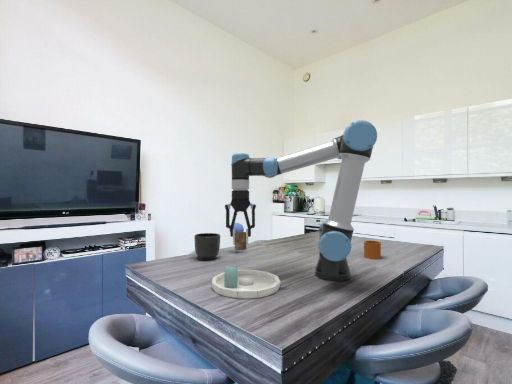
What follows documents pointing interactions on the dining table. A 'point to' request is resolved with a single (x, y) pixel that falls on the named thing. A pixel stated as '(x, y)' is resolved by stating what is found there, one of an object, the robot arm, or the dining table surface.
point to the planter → (207, 245)
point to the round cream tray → (248, 284)
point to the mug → (372, 249)
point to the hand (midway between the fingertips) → (240, 244)
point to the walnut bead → (240, 241)
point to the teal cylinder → (230, 277)
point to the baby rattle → (238, 229)
